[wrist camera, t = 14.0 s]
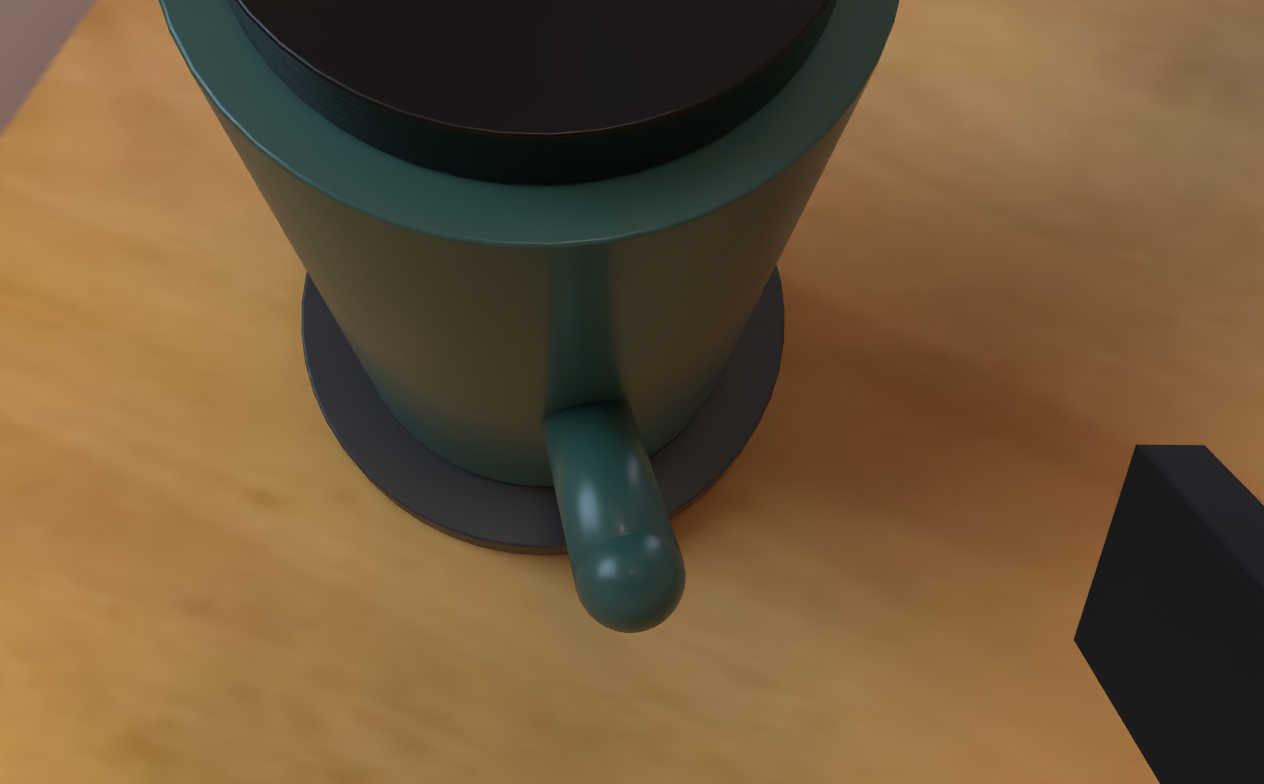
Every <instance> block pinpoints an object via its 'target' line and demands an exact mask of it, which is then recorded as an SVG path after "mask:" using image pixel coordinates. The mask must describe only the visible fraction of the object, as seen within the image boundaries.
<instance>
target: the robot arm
mask: <svg viewBox="0 0 1264 784" xmlns="http://www.w3.org/2000/svg"><path fill="white" fill-rule="evenodd" d="M1074 641H1075V643H1076V644H1077V646H1078V648H1079V649H1080V651H1081V653H1082V654H1083V656H1084V658H1085V659H1086V661H1087V663H1088V664H1089V666H1090V668H1091V669H1092V671H1093V673H1094V674H1095V676H1096V678H1097V679H1098V681H1099V683H1100V684H1101V686H1102V688H1103V689H1104V691H1105V693H1106V694H1107V696H1108V698H1109V699H1110V701H1111V703H1112V704H1113V706H1114V708H1115V709H1116V711H1117V713H1118V714H1119V716H1120V718H1121V719H1122V721H1123V723H1124V724H1125V726H1126V728H1127V729H1128V731H1129V733H1130V734H1131V736H1132V738H1133V739H1134V741H1135V743H1136V744H1137V746H1138V748H1139V749H1140V751H1141V753H1142V754H1143V756H1144V758H1145V759H1146V761H1147V763H1148V764H1149V766H1150V768H1151V769H1152V771H1153V773H1154V774H1155V776H1156V778H1157V779H1158V781H1159V783H1160V784H1264V505H1263V504H1262V503H1261V502H1260V501H1259V500H1258V499H1257V498H1256V497H1255V496H1254V495H1253V494H1252V493H1251V492H1250V491H1249V490H1248V489H1247V488H1246V487H1245V486H1244V485H1243V484H1242V483H1241V482H1240V481H1239V480H1238V479H1237V478H1236V477H1235V476H1234V475H1233V474H1232V473H1231V472H1230V471H1229V470H1228V469H1227V468H1226V467H1225V466H1224V465H1223V464H1222V463H1221V462H1220V461H1219V460H1218V459H1217V458H1216V457H1215V455H1214V454H1213V453H1212V452H1211V451H1210V450H1209V449H1208V448H1207V447H1206V446H1205V445H1136V447H1135V450H1134V453H1133V456H1132V459H1131V462H1130V465H1129V469H1128V472H1127V475H1126V478H1125V481H1124V484H1123V487H1122V490H1121V494H1120V497H1119V500H1118V503H1117V506H1116V509H1115V512H1114V515H1113V519H1112V522H1111V525H1110V528H1109V531H1108V534H1107V537H1106V540H1105V544H1104V547H1103V550H1102V553H1101V556H1100V559H1099V562H1098V565H1097V569H1096V572H1095V575H1094V578H1093V581H1092V584H1091V587H1090V590H1089V594H1088V597H1087V600H1086V603H1085V606H1084V609H1083V612H1082V615H1081V619H1080V622H1079V625H1078V628H1077V631H1076V634H1075V637H1074Z"/></svg>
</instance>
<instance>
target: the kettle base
mask: <svg viewBox="0 0 1264 784" xmlns="http://www.w3.org/2000/svg"><path fill="white" fill-rule="evenodd" d="M784 313H785V311H784V302H783V294H782V286H781V280H780V276H779V272H778V268H777V264H776V266H775V268H774V270H773V272H772V274H771V276H770V278H769V279H768V281H767V283H766V285H765V287H764V289H763V291H762V293H761V295H760V297H759V299H758V301H757V303H756V305H755V307H754V309H753V311H752V313H751V315H750V317H749V319H748V321H747V323H746V325H745V327H744V329H743V331H742V333H741V335H740V337H739V339H738V341H737V343H736V345H735V347H734V349H733V351H732V353H731V355H730V357H729V359H728V361H727V363H726V365H725V367H724V369H723V371H722V373H721V375H720V377H719V379H718V381H717V383H716V385H715V386H714V388H713V390H712V391H711V393H710V395H709V397H708V398H707V400H706V402H705V403H704V405H703V406H702V408H701V409H700V410H699V411H698V413H697V414H696V415H695V417H694V418H693V419H692V420H691V422H690V423H689V424H688V425H687V426H686V427H685V428H684V429H683V430H682V431H681V432H680V433H679V434H678V435H677V436H676V437H675V438H674V439H673V440H672V441H670V442H669V443H668V444H666V445H665V446H664V447H662V448H661V449H660V450H658V451H657V452H655V453H654V454H653V455H651V456H650V457H649V460H650V463H651V466H652V469H653V472H654V475H655V478H656V481H657V484H658V487H659V490H660V493H661V496H662V499H663V502H664V504H665V507H666V510H667V513H668V516H669V519H671V518H673V517H674V516H676V515H677V514H679V513H680V512H682V511H683V510H685V509H686V508H688V507H689V506H691V505H692V504H693V503H694V502H695V501H696V500H697V499H699V498H700V497H701V496H702V495H703V494H704V493H705V492H706V491H708V490H709V489H710V488H711V487H712V486H713V485H714V484H715V483H716V482H717V481H718V479H719V478H720V477H721V476H722V475H723V474H724V472H725V471H726V470H727V469H728V468H729V467H730V465H731V464H732V463H733V462H734V461H735V459H736V458H737V457H738V455H739V454H740V453H741V451H742V450H743V448H744V446H745V445H746V443H747V442H748V440H749V439H750V437H751V436H752V434H753V432H754V431H755V429H756V428H757V426H758V424H759V422H760V420H761V418H762V416H763V414H764V411H765V409H766V407H767V405H768V403H769V401H770V398H771V395H772V392H773V389H774V386H775V382H776V379H777V376H778V372H779V369H780V362H781V356H782V350H783V343H784ZM302 340H303V348H304V355H305V363H306V367H307V370H308V374H309V377H310V381H311V385H312V388H313V392H314V395H315V397H316V399H317V401H318V404H319V406H320V408H321V410H322V413H323V415H324V417H325V419H326V422H327V423H328V425H329V427H330V428H331V430H332V431H333V433H334V435H335V436H336V438H337V439H338V441H339V443H340V444H341V446H342V447H343V449H344V450H345V451H346V452H347V454H348V455H349V456H350V457H351V458H352V460H353V461H354V462H355V463H356V464H357V466H358V467H359V468H360V469H361V470H362V472H363V473H364V474H365V475H366V476H367V477H368V479H369V480H370V481H371V482H372V483H373V484H374V485H375V486H376V487H377V488H378V489H379V490H380V491H382V492H383V493H384V494H385V495H386V496H387V497H388V498H389V499H390V500H392V501H393V502H394V503H395V504H396V505H398V506H399V507H400V508H402V509H403V510H405V511H406V512H408V513H409V514H411V515H412V516H414V517H415V518H417V519H418V520H420V521H421V522H423V523H425V524H427V525H429V526H431V527H433V528H435V529H437V530H439V531H441V532H443V533H445V534H447V535H449V536H451V537H454V538H457V539H460V540H463V541H466V542H469V543H472V544H474V545H477V546H480V547H485V548H490V549H495V550H500V551H505V552H510V553H522V554H537V555H551V554H566V553H568V549H567V544H566V539H565V534H564V530H563V525H562V520H561V515H560V511H559V506H558V501H557V496H556V492H555V487H554V486H527V485H520V484H513V483H506V482H501V481H498V480H494V479H491V478H487V477H484V476H480V475H477V474H475V473H472V472H470V471H468V470H465V469H463V468H461V467H458V466H456V465H454V464H452V463H451V462H449V461H447V460H446V459H444V458H442V457H441V456H439V455H437V454H436V453H434V452H432V451H431V450H430V449H429V448H427V447H426V446H425V445H424V444H422V443H421V442H420V441H418V440H417V439H416V438H415V437H413V436H412V435H411V434H410V432H409V431H408V430H407V429H406V428H405V427H404V426H403V425H402V424H401V423H400V422H399V421H398V420H397V419H396V418H395V416H394V415H393V414H392V412H391V411H390V409H389V408H388V407H387V405H386V404H385V403H384V401H383V400H382V398H381V397H380V395H379V393H378V392H377V390H376V388H375V386H374V385H373V383H372V381H371V380H370V378H369V376H368V374H367V373H366V371H365V369H364V368H363V366H362V364H361V362H360V361H359V359H358V357H357V356H356V354H355V352H354V351H353V349H352V347H351V345H350V344H349V342H348V340H347V339H346V337H345V335H344V333H343V332H342V330H341V328H340V327H339V325H338V323H337V321H336V320H335V318H334V316H333V315H332V313H331V311H330V309H329V308H328V306H327V304H326V303H325V301H324V299H323V297H322V296H321V294H320V292H319V291H318V289H317V287H316V286H315V284H314V282H313V280H312V279H311V277H310V275H309V274H308V272H307V274H306V280H305V287H304V293H303V300H302Z"/></svg>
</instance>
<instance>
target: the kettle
mask: <svg viewBox="0 0 1264 784" xmlns="http://www.w3.org/2000/svg"><path fill="white" fill-rule="evenodd" d="M159 2H160V5H161V8H162V11H163V14H164V17H165V20H166V23H167V25H168V28H169V31H170V34H171V35H172V37H173V39H174V41H175V43H176V45H177V47H178V49H179V51H180V53H181V54H182V56H183V58H184V60H185V62H186V64H187V66H188V68H189V70H190V72H191V73H192V75H193V77H194V79H195V80H196V82H197V84H198V85H199V87H200V89H201V91H202V92H203V94H204V96H205V97H206V99H207V101H208V103H209V104H210V106H211V108H212V109H213V111H214V113H215V114H216V116H217V118H218V120H219V121H220V123H221V125H222V126H223V128H224V130H225V132H226V133H227V135H228V137H229V138H230V140H231V142H232V144H233V145H234V147H235V149H236V150H237V152H238V154H239V156H240V157H241V159H242V161H243V162H244V164H245V166H246V168H247V169H248V171H249V173H250V174H251V176H252V178H253V179H254V181H255V183H256V185H257V186H258V188H259V190H260V191H261V193H262V195H263V197H264V198H265V200H266V202H267V203H268V205H269V207H270V209H271V210H272V212H273V214H274V215H275V217H276V219H277V221H278V222H279V224H280V226H281V227H282V229H283V231H284V233H285V234H286V236H287V238H288V239H289V241H290V243H291V244H292V246H293V248H294V250H295V251H296V253H297V255H298V256H299V258H300V260H301V262H302V263H303V265H304V267H305V268H306V270H307V272H308V274H309V275H310V277H311V279H312V280H313V282H314V284H315V286H316V287H317V289H318V291H319V292H320V294H321V296H322V297H323V299H324V301H325V303H326V304H327V306H328V308H329V309H330V311H331V313H332V315H333V316H334V318H335V320H336V321H337V323H338V325H339V327H340V328H341V330H342V332H343V333H344V335H345V337H346V339H347V340H348V342H349V344H350V345H351V347H352V349H353V351H354V352H355V354H356V356H357V357H358V359H359V361H360V362H361V364H362V366H363V368H364V369H365V371H366V373H367V374H368V376H369V378H370V380H371V381H372V383H373V385H374V386H375V388H376V390H377V392H378V393H379V395H380V397H381V398H382V400H383V401H384V403H385V404H386V405H387V407H388V408H389V409H390V411H391V412H392V414H393V415H394V416H395V418H396V419H397V420H398V421H399V422H400V423H401V424H402V425H403V426H404V427H405V428H406V429H407V430H408V431H409V432H410V434H411V435H412V436H413V437H415V438H416V439H417V440H418V441H420V442H421V443H422V444H424V445H425V446H426V447H427V448H429V449H430V450H431V451H432V452H434V453H436V454H437V455H439V456H441V457H442V458H444V459H446V460H447V461H449V462H451V463H452V464H454V465H456V466H458V467H461V468H463V469H465V470H468V471H470V472H472V473H475V474H477V475H480V476H484V477H487V478H491V479H494V480H498V481H501V482H506V483H513V484H520V485H527V486H554V487H555V492H556V496H557V501H558V506H559V511H560V515H561V520H562V525H563V530H564V534H565V539H566V544H567V549H568V553H569V558H570V563H571V567H572V572H573V577H574V582H575V586H576V591H577V593H578V596H579V599H580V602H581V603H582V605H583V607H584V608H585V609H586V611H587V612H588V614H589V615H590V616H591V617H592V618H593V619H594V620H596V621H597V622H598V623H600V624H601V625H603V626H605V627H607V628H609V629H612V630H615V631H619V632H624V633H635V632H642V631H646V630H649V629H651V628H654V627H656V626H657V625H659V624H661V623H662V622H663V621H665V620H666V619H667V618H668V617H669V616H670V615H671V614H672V612H673V611H674V610H675V609H676V607H677V606H678V604H679V602H680V600H681V597H682V595H683V592H684V589H685V576H686V572H685V567H684V561H683V557H682V555H681V552H680V549H679V546H678V543H677V540H676V537H675V534H674V531H673V528H672V525H671V522H670V519H669V516H668V513H667V510H666V507H665V504H664V502H663V499H662V496H661V493H660V490H659V487H658V484H657V481H656V478H655V475H654V472H653V469H652V466H651V463H650V460H649V457H650V456H651V455H653V454H654V453H655V452H657V451H658V450H660V449H661V448H662V447H664V446H665V445H666V444H668V443H669V442H670V441H672V440H673V439H674V438H675V437H676V436H677V435H678V434H679V433H680V432H681V431H682V430H683V429H684V428H685V427H686V426H687V425H688V424H689V423H690V422H691V420H692V419H693V418H694V417H695V415H696V414H697V413H698V411H699V410H700V409H701V408H702V406H703V405H704V403H705V402H706V400H707V398H708V397H709V395H710V393H711V391H712V390H713V388H714V386H715V385H716V383H717V381H718V379H719V377H720V375H721V373H722V371H723V369H724V367H725V365H726V363H727V361H728V359H729V357H730V355H731V353H732V351H733V349H734V347H735V345H736V343H737V341H738V339H739V337H740V335H741V333H742V331H743V329H744V327H745V325H746V323H747V321H748V319H749V317H750V315H751V313H752V311H753V309H754V307H755V305H756V303H757V301H758V299H759V297H760V295H761V293H762V291H763V289H764V287H765V285H766V283H767V281H768V279H769V278H770V276H771V274H772V272H773V270H774V268H775V266H776V264H777V262H778V260H779V258H780V256H781V254H782V252H783V250H784V248H785V246H786V244H787V242H788V240H789V238H790V236H791V234H792V232H793V230H794V228H795V226H796V224H797V222H798V220H799V218H800V216H801V214H802V212H803V210H804V208H805V206H806V204H807V202H808V200H809V198H810V196H811V194H812V192H813V190H814V188H815V186H816V184H817V182H818V180H819V178H820V176H821V174H822V172H823V170H824V168H825V166H826V164H827V163H828V161H829V159H830V157H831V155H832V153H833V151H834V149H835V147H836V145H837V143H838V141H839V139H840V137H841V135H842V133H843V131H844V129H845V127H846V125H847V123H848V121H849V119H850V117H851V115H852V113H853V111H854V109H855V107H856V105H857V103H858V101H859V99H860V97H861V95H862V93H863V91H864V89H865V87H866V85H867V83H868V81H869V79H870V77H871V75H872V73H873V71H874V69H875V67H876V65H877V63H878V61H879V59H880V56H881V54H882V51H883V49H884V46H885V44H886V41H887V39H888V36H889V34H890V32H891V29H892V27H893V24H894V21H895V17H896V12H897V8H898V4H899V0H159Z"/></svg>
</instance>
